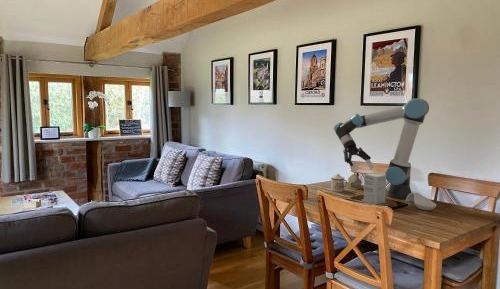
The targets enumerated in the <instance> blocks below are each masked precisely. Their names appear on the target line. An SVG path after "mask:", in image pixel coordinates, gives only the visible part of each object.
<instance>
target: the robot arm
mask: <svg viewBox="0 0 500 289" xmlns="http://www.w3.org/2000/svg"><path fill="white" fill-rule="evenodd" d="M429 111H430V104H429V103H428V101H426V100H425V99H423V98H417V97H416V98H412V99H410V100H408V101H407V102H406V103H405V104H403V105H402V106H398V107H394V108H388V109H385V110H381V111H377V112H372V113H369V114H364V115H360V114H359V113H354V115H351V117H350V118H348V119H346V121H345V122H338V123H335V125H334V126H333V131H334V132H335V135H336V136H337V137H338V139H339V141H340V143H341V144H342V145H343V151H342V152H343V154H344V156H343V158H344V163H346V164H349V167H351V169H352V171H353V172H356V171H357V169H358V168H357V165H356V163H355V162H354V161H353V160H352V157H353V156H357V157H359V158H361V159H363V160H364V161H365V164H366V165H367V167H368V168H369V170H370V171H371V170H373V169H374V165H373V164H372V161H371V159H372V156H370V155H369V154H368V153H366V151H364V150H363V148H362V147H359V148H358V147H357V144H356V142H355V140H354V139H353V137H352V136H351V134H350V133H352V132H353V131H355V129H359V128H360V129H361V128H363V127H364V128H365V127H369V126H373V125H377V124H382V123H387V122H392V121H396V120H401V119H403V121H404V122H403V126H402V129H401V133H400V136H399V140H398V143H397V145H396V146H397V147H396V149H395V153H394V157H393V159H391V160H390V161H389V164H388V167H387V169H386V171H385V173H384V175H386V182H387V183H389V184H390V185H389V187H388V190H387V196H388V197H390V198H393V199H394V198H395V199H401V200H402V199H403V200H404V199H405V200H406V198H407V196H408V194H409V193H413V192H412V189H411V171H412V170H411V169H412V164H411V162H409V161H410V157H411V155H412V154H411V153H412V151H413V148H414V144H415V142H416V138H417V136H418V135H417V134H418V131H419V128H420V126H421V125H422V124H424V120H425V117H426V116H427V115H428V113H429Z"/></svg>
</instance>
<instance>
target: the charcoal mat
mask: <svg viewBox="0 0 500 289" xmlns="http://www.w3.org/2000/svg"><path fill="white" fill-rule="evenodd" d="M360 201H361V202H362V201H363V202H364V198H362V199H361V200H360ZM363 202H362V203H363ZM366 203H368V202H366ZM370 204H372V203H370ZM377 205H384V206H389V207H390V204H388V203H387V202H386V201H385V202H384V203H380V204H377Z"/></svg>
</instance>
